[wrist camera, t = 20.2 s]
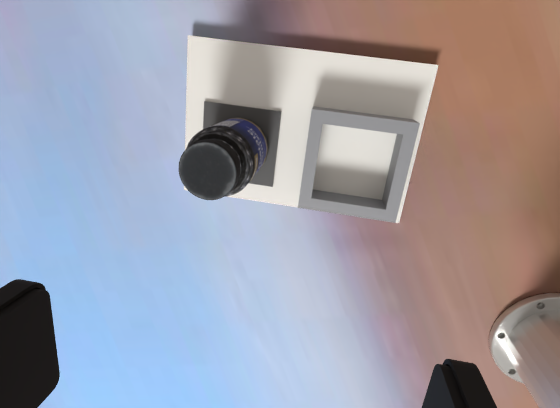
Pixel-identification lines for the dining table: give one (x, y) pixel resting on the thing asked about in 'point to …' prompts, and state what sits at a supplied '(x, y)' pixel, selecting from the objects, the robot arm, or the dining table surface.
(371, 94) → the socket board
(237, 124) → the pill bottle
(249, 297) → the dining table surface
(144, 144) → the dining table surface
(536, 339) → the robot arm
